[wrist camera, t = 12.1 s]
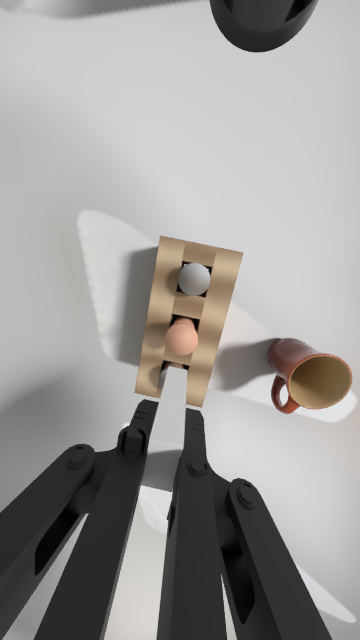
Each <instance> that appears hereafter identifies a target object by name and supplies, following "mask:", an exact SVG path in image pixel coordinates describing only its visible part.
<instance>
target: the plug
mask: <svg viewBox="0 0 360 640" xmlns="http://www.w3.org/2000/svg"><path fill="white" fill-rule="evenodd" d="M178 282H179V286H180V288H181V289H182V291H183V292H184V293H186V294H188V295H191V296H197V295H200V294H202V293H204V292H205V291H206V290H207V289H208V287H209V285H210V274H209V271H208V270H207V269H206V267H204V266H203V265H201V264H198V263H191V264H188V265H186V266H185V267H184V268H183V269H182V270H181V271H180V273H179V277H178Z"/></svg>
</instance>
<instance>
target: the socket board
mask: <svg viewBox="0 0 360 640" xmlns="http://www.w3.org/2000/svg"><path fill="white" fill-rule="evenodd" d="M242 255H243V253H242V252H238V251H233V250H228V249H223V248H218V247H213V246H208V245H204V244H199V243H194V242H189V241H184V240H179V239H174V238H169V237H165V236H160V241H159V247H158V253H157V259H156V265H155V271H154V277H153V284H152V290H151V296H150V302H149V308H148V314H147V320H146V326H145V333H144V339H143V345H142V351H141V357H140V363H139V369H138V375H137V382H136V388H135V393H138V394H142V395H147V396H151V397H156V398H160V397H161V393H162V389H161V387H160V386H159V382H158V380H159V376H160V373H161V372H162V370H164V368H165V365H164V362H165V360H166V361H171V362H175V363H180V364H185V365H187V366H186V370H188V372H187V392H186V404H188V405H193V406H197V407H202V405H203V401H204V398H205V394H206V390H207V386H208V383H209V379H210V375H211V371H212V368H213V364H214V360H215V357H216V353H217V349H218V345H219V342H220V338H221V334H222V331H223V327H224V323H225V319H226V316H227V312H228V308H229V304H230V301H231V297H232V293H233V289H234V285H235V282H236V278H237V275H238V271H239V267H240V263H241V260H242ZM191 263H198V264H201V265H203V266H204V267H206V268H207V269H209V270H208V271H209V274H210V285H209V287H208V289H207V290H206V291H205V292H204V293H203V294H200V295H197V296H191V295H188V294H186V293H184V292H183V291H182V289H179V287H180V286H179V282H178V277H179V273H180V271H181V270H182V269H183V266H184V264H191ZM174 314H177V315H182V316H187V317H191V318H196V319H197V322H196V327H195V330H196V332H197V335H198V344H197V347H196V348H195V350H194V351H193V352H191V353H190V354H187V355H176V354H174V353H172V352H171V351H170V350H169V349H168V347H167V346H166V342H165V336H166V333H167V331H168V329H169V328H170V327H171V326H172V322H173V317H174Z"/></svg>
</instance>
